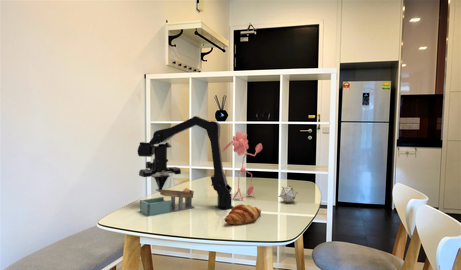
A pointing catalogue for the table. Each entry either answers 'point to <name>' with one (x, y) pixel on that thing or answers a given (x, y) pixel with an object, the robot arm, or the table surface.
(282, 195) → the grey spiked polyhedron
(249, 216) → the croissant
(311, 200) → the table surface
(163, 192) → the lever
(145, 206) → the bin
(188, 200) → the stand
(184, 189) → the ball
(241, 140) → the figurine
